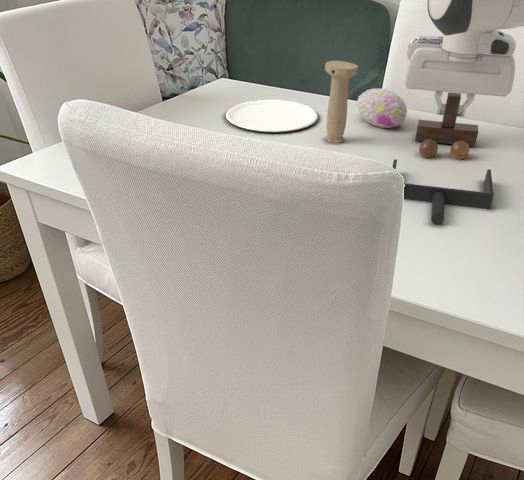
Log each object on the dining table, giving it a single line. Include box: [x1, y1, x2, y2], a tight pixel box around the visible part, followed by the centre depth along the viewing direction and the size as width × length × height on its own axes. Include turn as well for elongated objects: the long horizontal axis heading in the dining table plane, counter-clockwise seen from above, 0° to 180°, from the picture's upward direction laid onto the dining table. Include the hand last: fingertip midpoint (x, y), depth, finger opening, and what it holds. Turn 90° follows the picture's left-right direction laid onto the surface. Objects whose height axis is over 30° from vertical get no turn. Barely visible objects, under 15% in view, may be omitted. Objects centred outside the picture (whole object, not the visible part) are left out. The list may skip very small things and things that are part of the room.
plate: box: [225, 99, 319, 134], centre depth 129 cm, size 21×21×1 cm
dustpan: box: [392, 158, 495, 225], centre depth 98 cm, size 17×19×3 cm
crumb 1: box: [418, 139, 439, 159], centre depth 112 cm, size 4×4×4 cm
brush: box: [414, 92, 479, 147], centre depth 116 cm, size 12×4×9 cm, turn 75°
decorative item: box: [356, 87, 408, 129], centre depth 125 cm, size 9×11×10 cm
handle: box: [324, 60, 359, 144], centre depth 114 cm, size 5×6×15 cm
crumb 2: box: [449, 141, 470, 161], centre depth 112 cm, size 4×4×4 cm
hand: (450, 114), depth 115 cm, fingers closed on brush, 2 cm apart
